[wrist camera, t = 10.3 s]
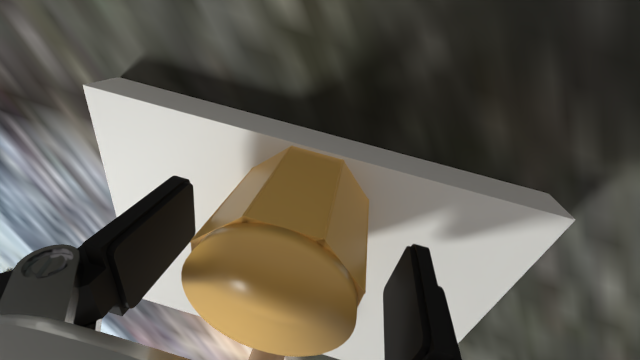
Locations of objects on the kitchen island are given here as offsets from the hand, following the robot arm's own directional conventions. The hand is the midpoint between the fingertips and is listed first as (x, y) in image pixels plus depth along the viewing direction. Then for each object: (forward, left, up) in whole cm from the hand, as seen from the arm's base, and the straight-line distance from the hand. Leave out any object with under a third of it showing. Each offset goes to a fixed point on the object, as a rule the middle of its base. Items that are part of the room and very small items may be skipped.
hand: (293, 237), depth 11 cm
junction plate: (0, +5, -4) cm, 7 cm away
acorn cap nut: (0, 0, -2) cm, 2 cm away
